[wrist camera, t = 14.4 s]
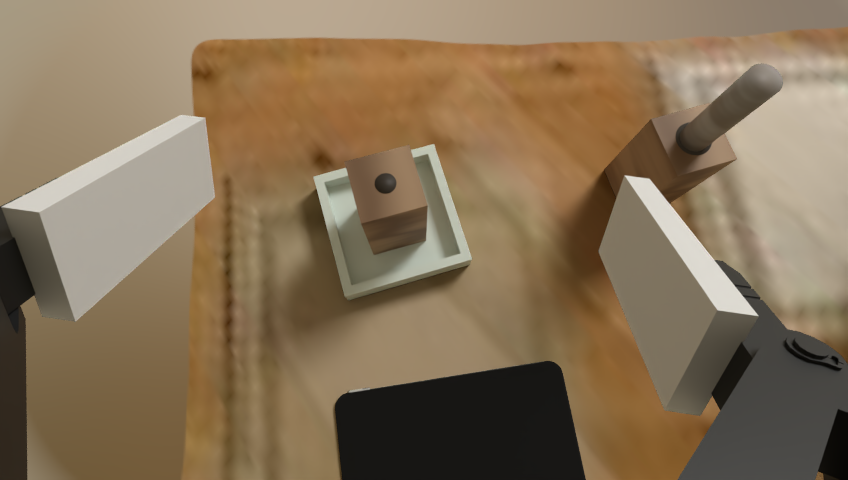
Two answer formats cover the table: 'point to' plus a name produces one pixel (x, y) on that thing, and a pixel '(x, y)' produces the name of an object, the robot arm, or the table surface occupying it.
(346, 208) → the tray
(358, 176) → the block
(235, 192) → the table surface
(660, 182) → the block
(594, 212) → the table surface
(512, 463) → the tablet
